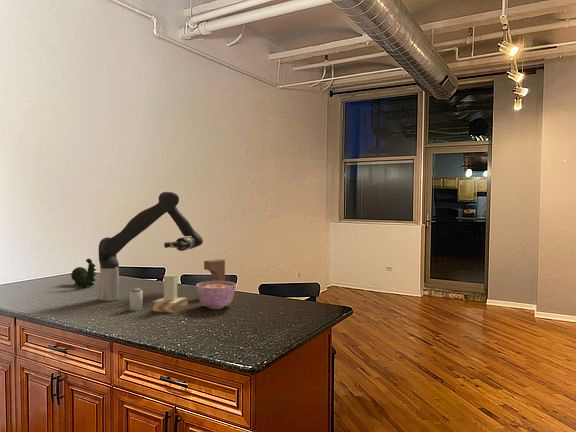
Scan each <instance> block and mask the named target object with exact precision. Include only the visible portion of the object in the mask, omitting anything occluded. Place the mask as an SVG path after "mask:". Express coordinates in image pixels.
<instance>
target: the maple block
mask: <svg viewBox="0 0 576 432" xmlns="http://www.w3.org/2000/svg"><path fill="white" fill-rule="evenodd" d="M188 306H189V305H188V297H179V296H177V299H176V300H174V301H164V297H162V298H159V299H156V300H153V301H152V311H153V312H162V313H174V314H175V313H178V312H180V311H182V310H184V309H186V308H188Z"/></svg>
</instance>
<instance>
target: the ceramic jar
mask: <svg viewBox="0 0 576 432" xmlns="http://www.w3.org/2000/svg"><path fill="white" fill-rule="evenodd" d="M143 293H144V291H143V290H142V289H141V288H139V287H138V288H131V290H130V291H129V311H131V312H138V311H142V310H143V299H144V298H143V297H144V296H143V295H144V294H143Z"/></svg>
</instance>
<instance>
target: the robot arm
mask: <svg viewBox="0 0 576 432" xmlns="http://www.w3.org/2000/svg"><path fill="white" fill-rule="evenodd" d="M179 202H180V197H179V195H178V194H177V193H175V192H172V191H163V192H161V193H160V194H159V196H158V202H157V203H156V204H154V205H153V206H150V207H148V208H146V209H143V210H142V211H140V212H139V213H137V214H136V215H135V216H133V217H132V218H131V219H130V220H129V221H128V223H126V225H125V227H123V228H122V230H121V231H119V232H118V233H116V234H115V235H113V236H111V237H107V236H106V237H103V238H102V239H101V240H100V241H99V244H98V263H99V267H100V269H99V274H100V275H99V277H100V278H99V280H100V281H99V282H98V285H97V286H98V289H97V290H98V301H102V302H113V301H118V300H119V299H120V298H119V296H120V293H119V291H120V284H119V283H120V281H119V280H120V279H119V278H120V276H119V275H120V271H119V270H120V267H119V266H120V265H119V264H120V263H119V261H118V256H117V254H118V253H119V252H120V251H122V250H123V248H125V246H127V245H128V244H129V243H130V242H131V241H132V240H134V239H135V238H136V237H138V235H140V234H141V233H143V232H144V231H145V230H147V229H148V228H149V227H150V226H152V224H154V223H155V222H157V220H159V219H160V218H161V217H162V216H164V215H165V214H166V213H167V214H168V215H169V216H170V218H171V219H172V221H174V223H175V225H176V226H177V228H178V229H179V231H180V232H181V234H182V235H183V237H179V238H177V239H176V240H175V241H167V242H164V244H163V245H164V247H163V248H165V249H167V248H170V249H176V250H177V251H179V252H184V251H187V250H192V249H194V248H197V247H200V246H202V245H203V243H204V241H203V240H204V239H203V237H202V236H201V235H200V234H199V233H198V232H197V231H196V230H195V229H194V228H193V227H192V225H191V223H190V221H189V220H188V219H187V218H186V216H184V215H183V213H181V212H180V210H179V209H178V207H177V205H179Z"/></svg>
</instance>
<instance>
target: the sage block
mask: <svg viewBox="0 0 576 432" xmlns="http://www.w3.org/2000/svg"><path fill="white" fill-rule="evenodd" d="M177 297H178V274H166V275H163V298H164V301H174V300H176V299H177Z"/></svg>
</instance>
